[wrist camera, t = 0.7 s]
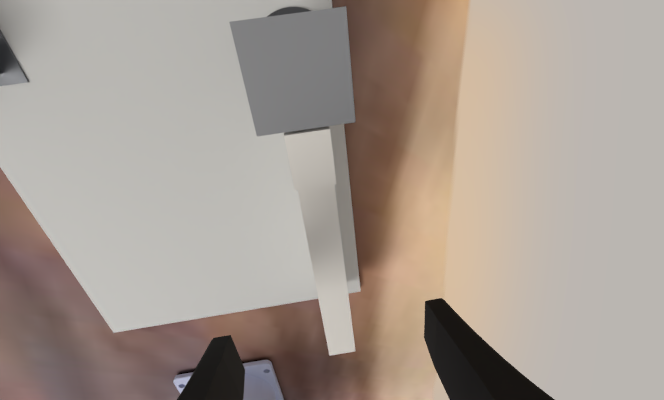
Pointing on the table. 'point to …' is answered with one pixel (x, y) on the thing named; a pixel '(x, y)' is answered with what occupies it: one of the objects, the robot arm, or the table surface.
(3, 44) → the dark grey stepped block
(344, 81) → the gate
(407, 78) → the table surface
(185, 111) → the mat
